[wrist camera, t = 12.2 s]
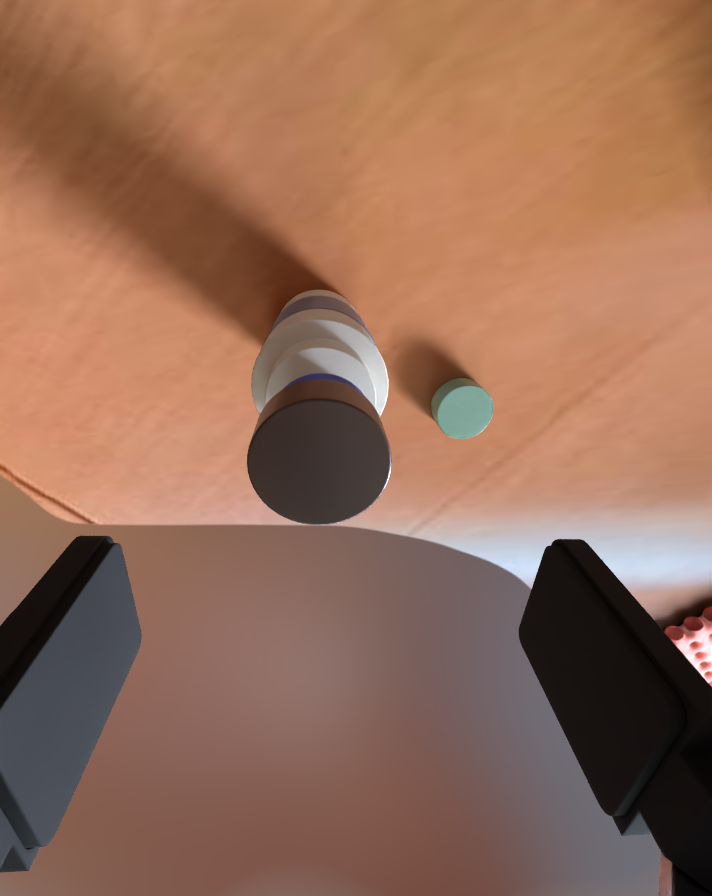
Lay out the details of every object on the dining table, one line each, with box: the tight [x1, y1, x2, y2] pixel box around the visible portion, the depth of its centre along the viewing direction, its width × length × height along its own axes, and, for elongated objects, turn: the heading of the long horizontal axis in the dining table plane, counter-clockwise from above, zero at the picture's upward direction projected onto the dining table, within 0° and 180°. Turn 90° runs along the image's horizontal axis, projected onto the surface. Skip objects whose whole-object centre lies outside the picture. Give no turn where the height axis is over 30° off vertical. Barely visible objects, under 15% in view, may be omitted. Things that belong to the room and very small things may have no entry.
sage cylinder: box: [431, 378, 493, 439], centre depth 37 cm, size 5×5×2 cm
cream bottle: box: [251, 290, 388, 417], centre depth 26 cm, size 7×7×20 cm
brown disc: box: [247, 379, 392, 525], centre depth 15 cm, size 5×5×2 cm
